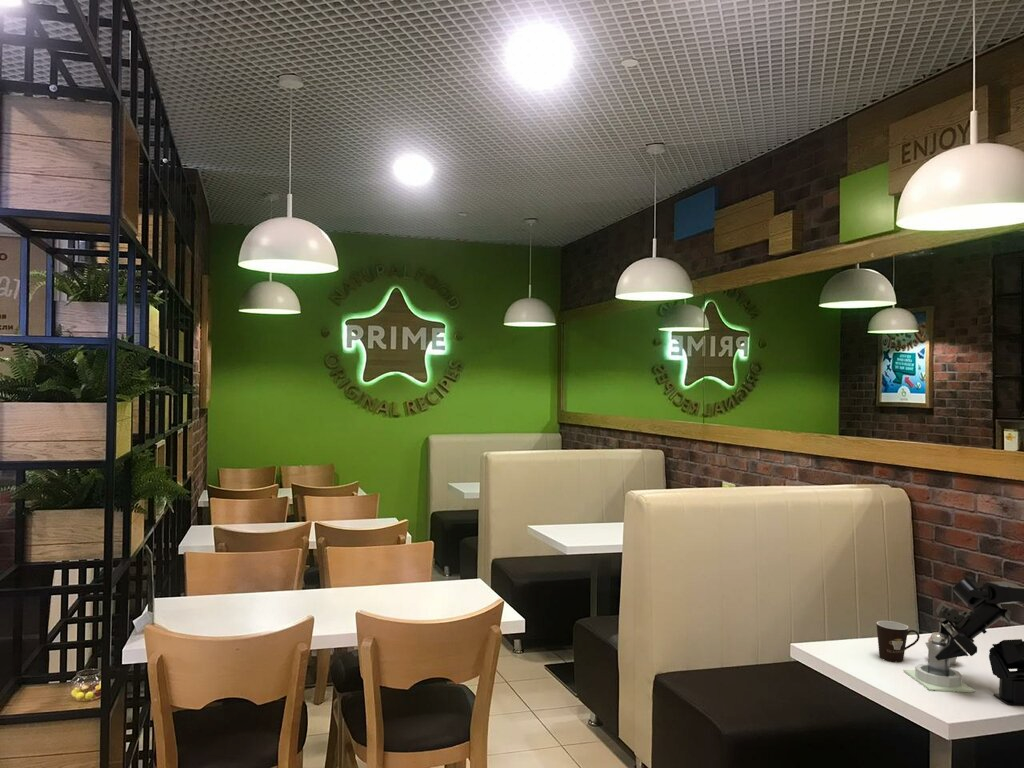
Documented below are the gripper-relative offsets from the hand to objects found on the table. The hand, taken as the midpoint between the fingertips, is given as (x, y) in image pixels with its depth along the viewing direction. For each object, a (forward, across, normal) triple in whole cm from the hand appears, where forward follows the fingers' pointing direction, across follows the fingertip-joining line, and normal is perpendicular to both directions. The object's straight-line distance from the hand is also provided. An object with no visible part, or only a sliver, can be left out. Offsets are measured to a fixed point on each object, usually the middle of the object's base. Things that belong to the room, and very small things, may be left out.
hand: (933, 653), depth 214 cm
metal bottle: (+4, 0, +6) cm, 7 cm away
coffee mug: (+10, -15, +1) cm, 18 cm away
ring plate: (+4, 0, +6) cm, 8 cm away
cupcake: (+1, -18, +10) cm, 21 cm away
